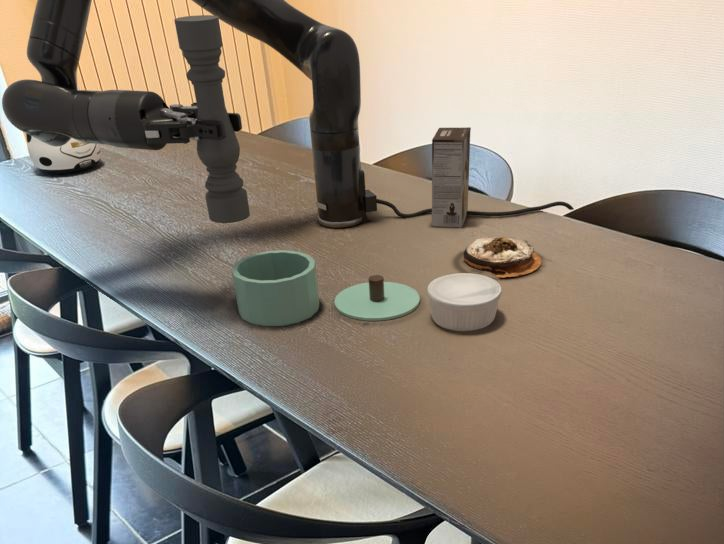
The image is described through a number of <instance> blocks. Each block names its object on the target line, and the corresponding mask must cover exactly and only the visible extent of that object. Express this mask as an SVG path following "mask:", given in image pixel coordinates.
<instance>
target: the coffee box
mask: <svg viewBox="0 0 724 544" xmlns="http://www.w3.org/2000/svg"><path fill="white" fill-rule="evenodd" d="M471 130H472V127H438V129H437V130H436V132H435V134H434V136H433V137H432V139H431V208H432V212H431V227H432V228H433V227H434V228H435V227H438V228H440V227H441V228H462V227H463V226H464V223H465V221H466V218H467V215H466V213H467V211H469V209H468V208H469V184H470V182H469V180H470V155H471V154H470V151H471Z"/></svg>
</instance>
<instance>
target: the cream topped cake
mask: <svg viewBox="0 0 724 544" xmlns="http://www.w3.org/2000/svg"><path fill="white" fill-rule="evenodd" d="M534 250H535V249H534V247H533V244H530V243H529V240H526V239H521V238H517V237H512V236H490V237H489V236H488V237H480V238H476V239H474V240H473V241H471V242H470V243H468V245H467V246H466V248H465V250H464V251H463V259H464V260H463V262H464V263H465V264H466V265H468V266H469V267H471V268H473V269H478V270H481V271H485V272H489V273H490V274H492V275H493V276H494V277H496V278H498V279H502V278H503V279H505V278H507V277H508V278H510V277H519V276H523V275H527V274H530V273H533V272H534V271H536V270H538V268H539V267H540V266H541V264H542V258H541V257H540V256H539V254H538V253H536V252H535V251H534Z"/></svg>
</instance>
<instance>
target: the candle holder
mask: <svg viewBox="0 0 724 544" xmlns="http://www.w3.org/2000/svg"><path fill="white" fill-rule="evenodd" d="M173 21H174V27H175V31H176V36H177V37H176V38H177V43H178V48H179V50H181V52H182V56H183V57H184V59H185V60H186V62H187V64H188V65H189V69H188V70H187V72H186V76H185V77H186V79H187V80H188V81H190V82H191V83H190V84H191V85H192V86H193V91H194V96H195V103H197V108H198V118H197V121H199V120H214V121H222V122H223V123H224V126H225V132H226V137H225V138H224V139H222V140H217V139H203V138H201V139H200V140H198V141H196V153H197V156H198V159H199V160H200V161H201V163H202V164H203V165H204V166H205V167H206V169H205V170H206V172H207V173H208V175H207V178H206V180H205V183H204V189H206V190H207V192H205V203H206V208H207V213H208V219H209V221H211V222H214V223H218V224H231V223H232V224H233V223H237V222H242V221H244V220H247V219H248V218H250V216H251V211H250V205H249V199H248V193H247V190H246V189H245V188H244V179H243V178H242V177H241V176H240V174H239V173H238V172H236V170H237V168H238V165H237V163H238V161H239V158H240V153H241V147H240V143H239V140H238V138H237V137H238V136H237V135H236V131H234V129H233V126H232V124H231V121H230V118H229V115H228V113H229V112H228V110H227V107H226V102H225V96H224V88H223V81H224V79H225V77H226V70H225V69H224V68H223V67H221V66H220V65H219V63H220V62H221V61H220V60H221V55H222V47H223V45H224V44H223V39H222V32H221V31H222V30H221V26H220V19H219V18H218V16H214V15H212V14H206V15H205V14H201V15H198V14H197V15H188V16H186V15H185V16H181V17H176V18H174V19H173Z"/></svg>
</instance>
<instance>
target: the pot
mask: <svg viewBox="0 0 724 544" xmlns="http://www.w3.org/2000/svg"><path fill="white" fill-rule="evenodd" d="M230 272H231V277H232V282H233V289H234V292H235V293H234V294H235V299H236V303H237V304H236V305H237V310H238V314H239V315H240V317H241V319H242V320H243V321H245V322H248V323H250V324H252V325H257V326H262V327H284V326H289V325H293V324H297V323H301V322H303V321H305V320H308V319H310V318H312V317H313V316H314V315H315V314H316V313H317V312H318V311H319V310H320V308H319V307H320V302H321V301H320V294H319V284H318V274H317V264H316V260H315V259H314V258H313V257H312V256H311V255H310V254H307V253H304V252H302V251H296V250H288V249H284V250H283V249H282V250H281V249H279V250H267V251H262V252H257V253H253V254H251V255H247V256H244V257H242V258H240V259H239V260H237V261H236V262H235V263H234V264H233V266H232V268H231V271H230Z"/></svg>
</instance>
